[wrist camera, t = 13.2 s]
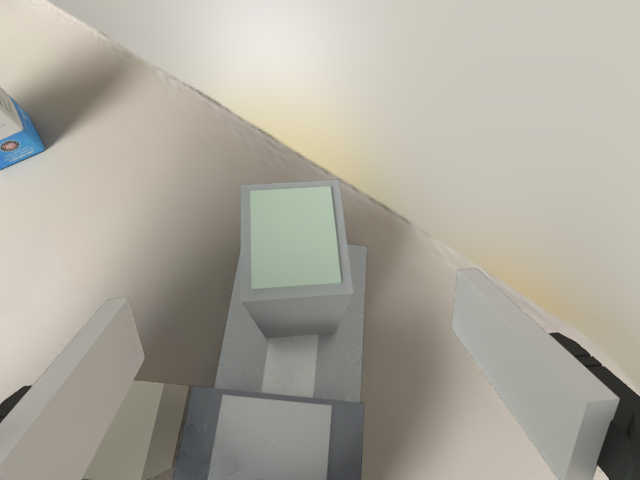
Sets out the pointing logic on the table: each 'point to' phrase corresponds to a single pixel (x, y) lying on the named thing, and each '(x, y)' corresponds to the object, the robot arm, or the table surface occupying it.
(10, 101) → the ink box
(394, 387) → the table surface
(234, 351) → the grey l-shaped block
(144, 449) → the beige small block
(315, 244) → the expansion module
